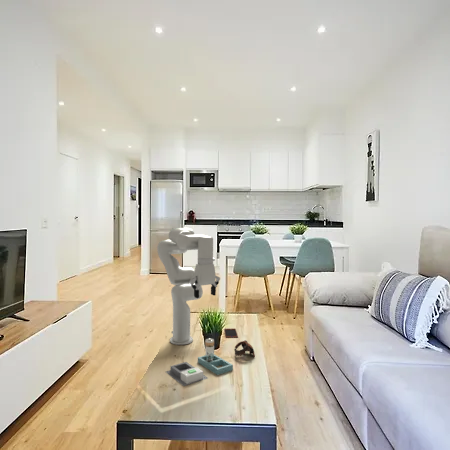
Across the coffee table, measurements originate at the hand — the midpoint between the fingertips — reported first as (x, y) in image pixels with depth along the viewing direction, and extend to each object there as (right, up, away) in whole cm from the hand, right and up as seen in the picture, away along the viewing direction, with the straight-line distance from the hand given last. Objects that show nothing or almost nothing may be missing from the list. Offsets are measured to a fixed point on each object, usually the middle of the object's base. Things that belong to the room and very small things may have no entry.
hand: (205, 296), depth 171 cm
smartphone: (+13, -30, +36) cm, 49 cm away
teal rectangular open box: (+5, -31, -11) cm, 33 cm away
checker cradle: (-7, -31, -20) cm, 38 cm away
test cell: (+3, -30, -8) cm, 31 cm away
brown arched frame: (+20, -31, +4) cm, 37 cm away
